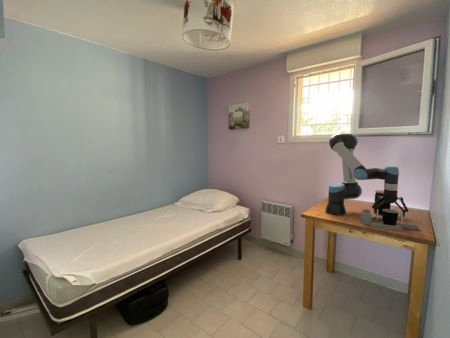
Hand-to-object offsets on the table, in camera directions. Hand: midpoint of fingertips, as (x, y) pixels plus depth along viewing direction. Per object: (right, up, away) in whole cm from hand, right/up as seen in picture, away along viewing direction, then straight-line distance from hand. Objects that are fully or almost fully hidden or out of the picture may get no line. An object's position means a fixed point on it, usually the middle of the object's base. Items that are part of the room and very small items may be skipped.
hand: (388, 220), depth 155 cm
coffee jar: (+13, -1, +26) cm, 30 cm away
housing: (-4, -4, +3) cm, 7 cm away
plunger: (-12, +1, +6) cm, 13 cm away
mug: (0, -4, +1) cm, 4 cm away
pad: (+11, -4, -4) cm, 12 cm away
